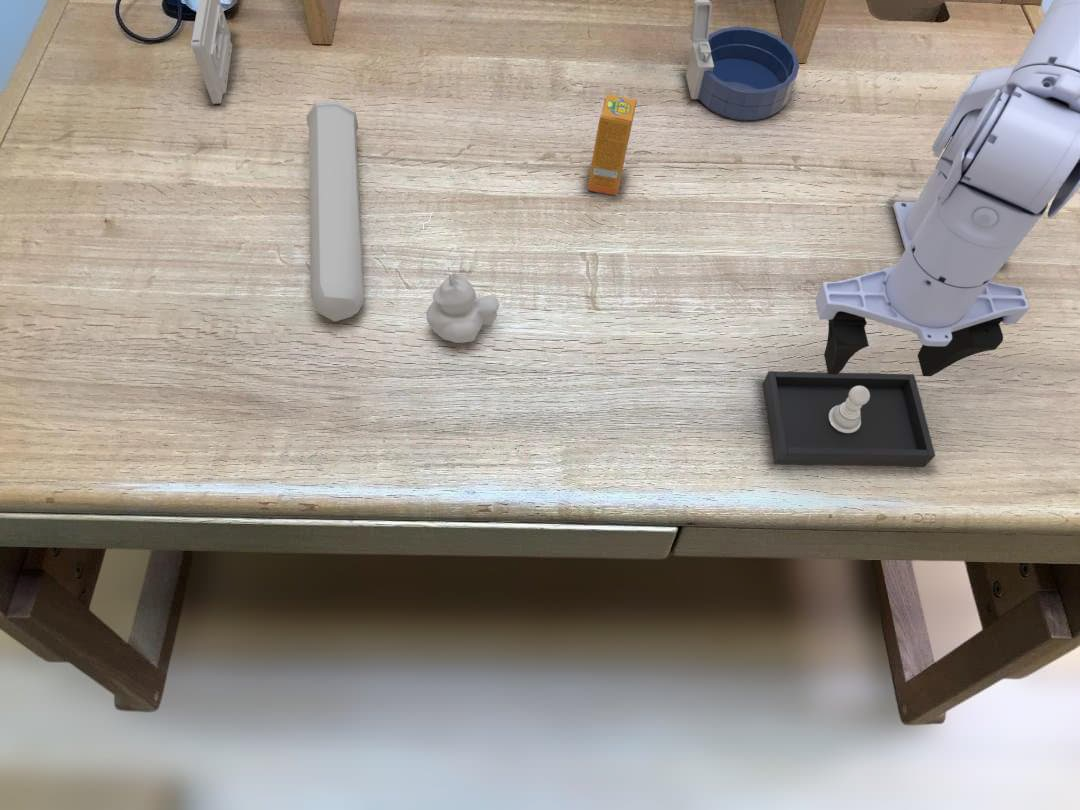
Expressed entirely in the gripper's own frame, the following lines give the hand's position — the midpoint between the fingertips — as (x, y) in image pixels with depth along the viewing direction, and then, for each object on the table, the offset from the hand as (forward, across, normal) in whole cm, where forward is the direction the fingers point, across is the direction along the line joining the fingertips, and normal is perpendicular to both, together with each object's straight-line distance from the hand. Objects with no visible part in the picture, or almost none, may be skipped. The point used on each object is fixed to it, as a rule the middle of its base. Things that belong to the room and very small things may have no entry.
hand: (877, 365), depth 68 cm
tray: (+9, 0, -1) cm, 9 cm away
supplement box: (+9, -20, +28) cm, 35 cm away
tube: (+9, -47, +21) cm, 52 cm away
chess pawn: (+8, 0, -1) cm, 8 cm away
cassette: (+9, -63, +44) cm, 77 cm away
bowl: (+9, -4, +43) cm, 44 cm away
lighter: (+10, -9, +43) cm, 45 cm away
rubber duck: (+9, -34, +9) cm, 36 cm away
